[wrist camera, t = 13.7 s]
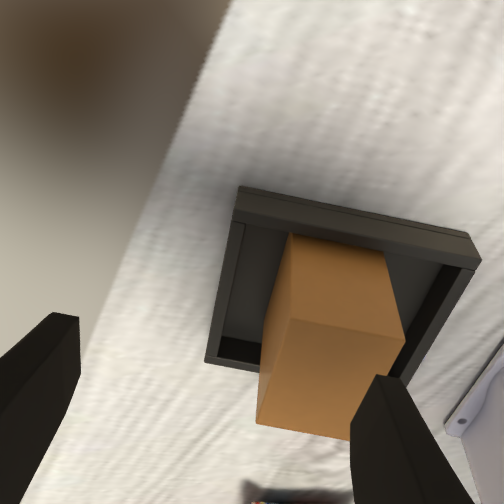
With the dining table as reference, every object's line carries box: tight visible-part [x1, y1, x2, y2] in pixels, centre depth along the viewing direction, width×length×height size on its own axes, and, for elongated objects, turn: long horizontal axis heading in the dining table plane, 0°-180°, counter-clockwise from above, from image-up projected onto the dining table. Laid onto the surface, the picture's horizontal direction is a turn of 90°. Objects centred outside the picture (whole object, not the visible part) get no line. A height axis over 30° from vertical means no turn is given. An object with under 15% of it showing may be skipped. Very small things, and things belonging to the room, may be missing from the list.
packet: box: [256, 232, 405, 441], centre depth 20 cm, size 4×6×6 cm, turn 169°
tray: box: [204, 186, 482, 387], centre depth 22 cm, size 9×10×2 cm
